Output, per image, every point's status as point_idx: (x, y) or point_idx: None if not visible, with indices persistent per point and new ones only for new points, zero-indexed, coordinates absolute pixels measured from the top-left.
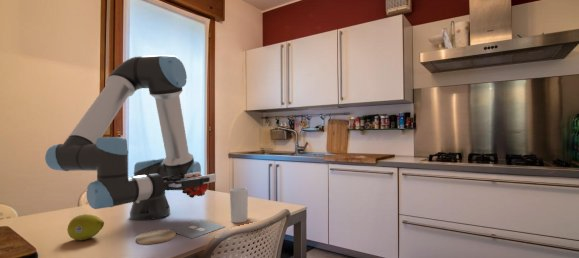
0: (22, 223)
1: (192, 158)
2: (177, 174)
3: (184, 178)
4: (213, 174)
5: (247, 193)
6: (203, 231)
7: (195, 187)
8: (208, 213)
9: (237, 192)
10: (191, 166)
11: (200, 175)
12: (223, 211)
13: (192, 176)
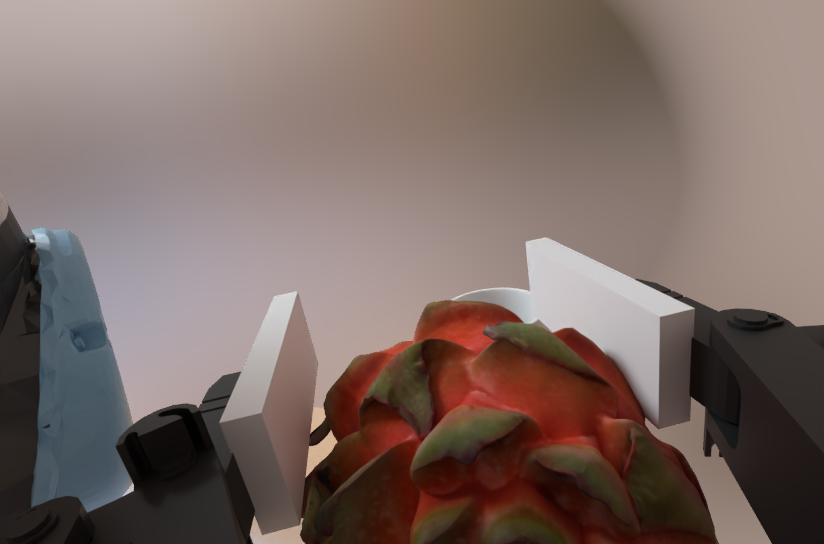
0: None
1: (3, 197)
2: (46, 515)
3: (252, 483)
4: (557, 244)
5: (523, 310)
6: None
7: (709, 516)
8: (257, 528)
9: (540, 325)
10: (57, 282)
11: (482, 309)
12: (307, 459)
13: (422, 375)
